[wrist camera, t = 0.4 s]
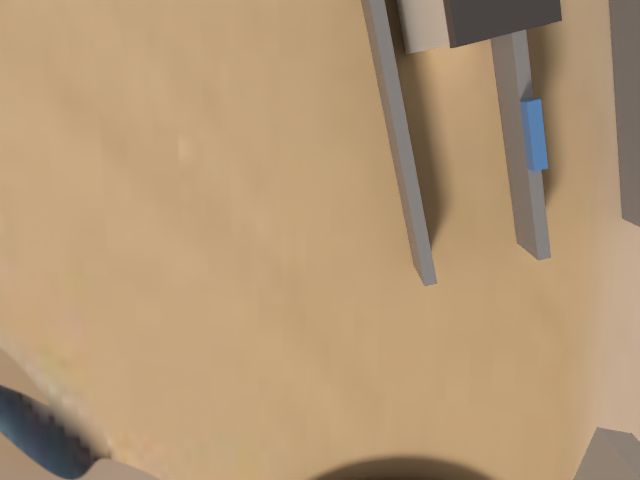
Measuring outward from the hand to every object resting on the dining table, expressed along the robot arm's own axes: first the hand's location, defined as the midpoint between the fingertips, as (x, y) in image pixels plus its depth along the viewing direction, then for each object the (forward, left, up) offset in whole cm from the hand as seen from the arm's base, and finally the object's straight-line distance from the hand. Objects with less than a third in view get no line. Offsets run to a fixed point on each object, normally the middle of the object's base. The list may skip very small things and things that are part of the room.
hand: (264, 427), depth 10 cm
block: (-8, +10, -25) cm, 29 cm away
